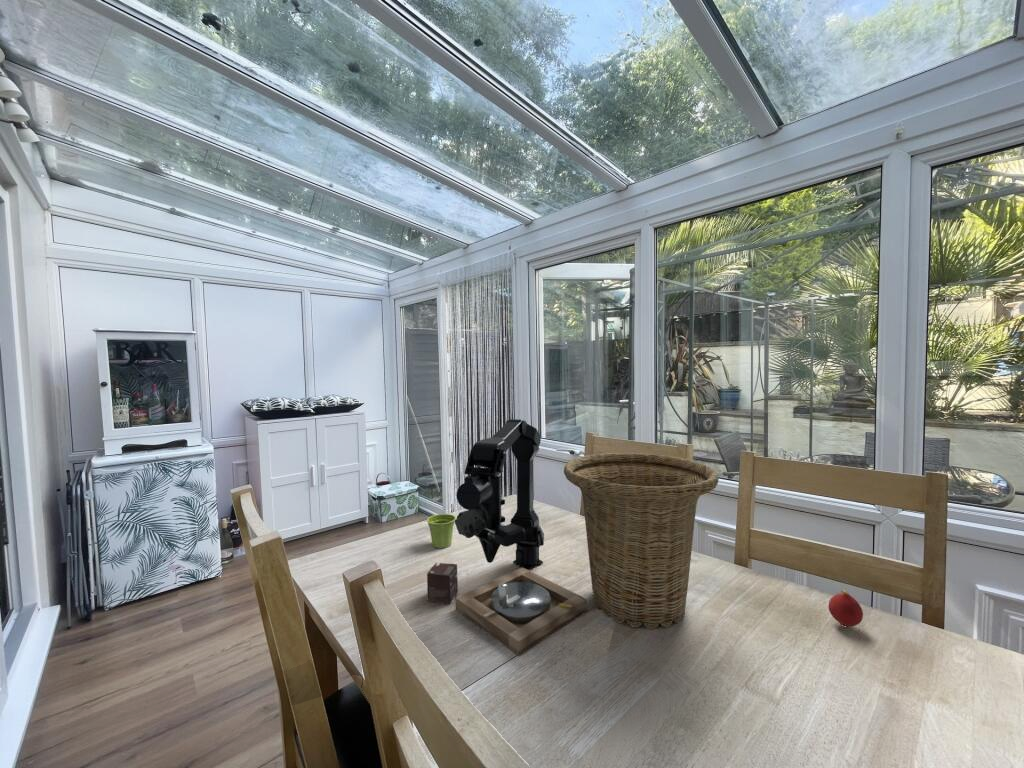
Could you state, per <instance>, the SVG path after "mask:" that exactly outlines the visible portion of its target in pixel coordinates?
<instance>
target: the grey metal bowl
mask: <svg viewBox="0 0 1024 768" xmlns="http://www.w3.org/2000/svg"><path fill="white" fill-rule="evenodd" d="M550 608H551V597H550V594H549V592H548V591H547V590H546V589H545V588H543V587H541V586H539V585H537V584H533V583H528V582H514V583H509V584H507V583H504V582H502V583H499V584H498V588H497V589H496V590H495V591H494V592H493V594H492V596H491V609H492V611H495V613H497V614H498V615H500V616H501V617H503V618H505V619H506V620H508V621H509V622H511V623H518V624H524V623H529V622H531V621H532V620H534V619H536V618H538V617H539V616H541V615H543V614H544V613H546V612H548V611H549V610H550Z"/></svg>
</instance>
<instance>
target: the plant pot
mask: <svg viewBox="0 0 1024 768" xmlns="http://www.w3.org/2000/svg"><path fill="white" fill-rule="evenodd" d="M456 519H457V516H456V515H453V514H450V513H449V514H448V513H439V514H434V515H430V516H429V517H427V518H426V522H427V525H428V528H429V532H430V533H429V534H430V537H431V538H430V539H431V544H432V545H431V546H432V547H433V548H437V549H445V548H448V547H450V546H451V545H452V543H453V542H452V541H453V540H452V539H453V531H454V525H455V520H456Z"/></svg>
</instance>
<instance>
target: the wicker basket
mask: <svg viewBox="0 0 1024 768" xmlns="http://www.w3.org/2000/svg"><path fill="white" fill-rule="evenodd" d="M563 473H564V476H565V478H566V480H567V481H569V482H570V483H571V484H573V486H576V487H578V488H579V489H580V492H581V496H582V502H583V512H584V513H583V514H584V521H585V533H586V542H587V551H588V560H589V561H588V562H589V571H590V581H591V588H592V595H593V601H594V604H595V606H596V608H598V609H600V610H601V612H602V614H603V615H605V617H610V616H611V617H612V619H613V620H614V621H615V622H616V623H619V624H622V623H624V622H625V621H626V623H627V624H628V625H629V626H630V627H632V628H635V627H636V628H639V627H641V626H642V624H643V625H644V626H645V628H646V629H649V630H654V629H656V628H657V627H658V626H659V625H660V626H661V627H662V628H669V627H670V626H671V625H672V623H673V622H674V623H677V622H678V623H679V622H680V620H682V617H683V616H685V611H686V605H687V604H686V603H687V596H688V589H689V588H688V587H689V579H690V572H691V571H690V570H691V562H692V561H691V559H692V550H693V540H694V531H695V521H696V513H697V512H696V511H697V504H698V501H699V498H700V496H703V495H705V494H708V493H709V492H712V491H713V490H715V488H716V487H718V484H719V475H718V473H717V471H716V470H715V469H714V468H712V467H710V466H709V465H706V464H704V463H702V462H698V461H695V460H691V459H687V458H682V457H677V456H670V455H663V454H653V453H642V452H641V453H640V452H609V453H598V454H597V453H596V454H595V453H594V454H588V455H583V456H579V457H575V458H573V459H570V460H569V461H567V462H566V464H565V465H564V468H563ZM678 623H677V624H678Z"/></svg>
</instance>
